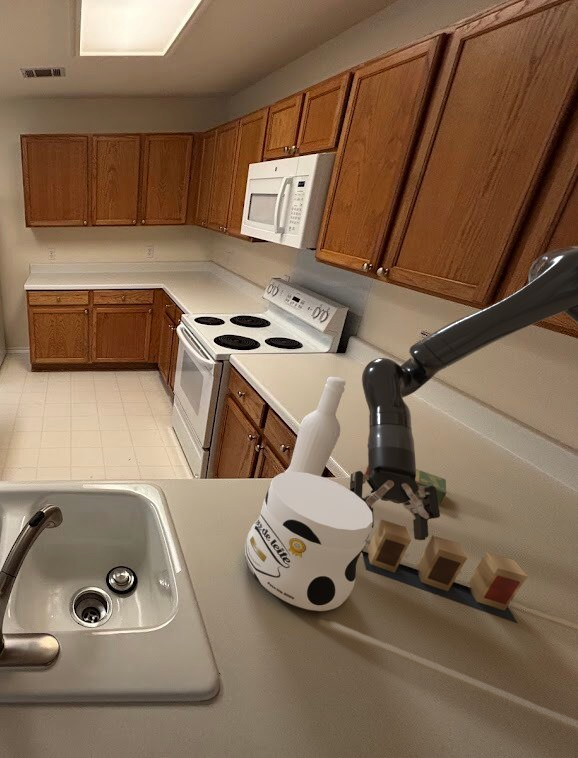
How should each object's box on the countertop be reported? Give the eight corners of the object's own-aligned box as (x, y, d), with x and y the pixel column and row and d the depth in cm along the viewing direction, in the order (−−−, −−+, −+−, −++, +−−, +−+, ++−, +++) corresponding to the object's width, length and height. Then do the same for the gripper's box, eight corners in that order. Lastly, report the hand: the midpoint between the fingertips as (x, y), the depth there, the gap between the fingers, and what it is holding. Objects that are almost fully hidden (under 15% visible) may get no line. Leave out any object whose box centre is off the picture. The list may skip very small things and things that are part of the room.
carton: (367, 465, 115) (372, 452, 113) (440, 492, 105) (447, 478, 104) (363, 477, 109) (369, 463, 107) (440, 506, 99) (448, 492, 98)
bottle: (319, 491, 101) (362, 379, 90) (311, 506, 95) (356, 388, 84) (285, 477, 106) (321, 369, 95) (275, 490, 100) (313, 376, 89)
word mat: (495, 591, 76) (497, 588, 76) (516, 626, 69) (518, 623, 69) (358, 545, 84) (359, 542, 84) (364, 572, 78) (366, 569, 77)
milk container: (222, 569, 76) (245, 489, 69) (266, 530, 86) (290, 457, 80) (322, 642, 64) (362, 553, 57) (358, 586, 74) (395, 506, 68)
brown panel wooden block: (440, 575, 77) (459, 543, 74) (448, 592, 74) (468, 558, 71) (415, 567, 79) (432, 535, 76) (421, 582, 76) (439, 549, 73)
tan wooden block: (390, 558, 81) (405, 526, 78) (395, 573, 77) (411, 540, 74) (366, 550, 82) (380, 519, 79) (370, 564, 79) (385, 532, 76)
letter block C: (492, 592, 75) (514, 559, 72) (505, 611, 71) (528, 577, 68) (465, 584, 76) (485, 551, 73) (477, 602, 72) (498, 568, 69)
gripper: (360, 438, 81) (361, 522, 75) (444, 454, 78) (452, 542, 72) (343, 448, 88) (343, 525, 82) (419, 463, 85) (425, 544, 79)
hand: (394, 533), depth 77 cm, fingers open, 8 cm apart
